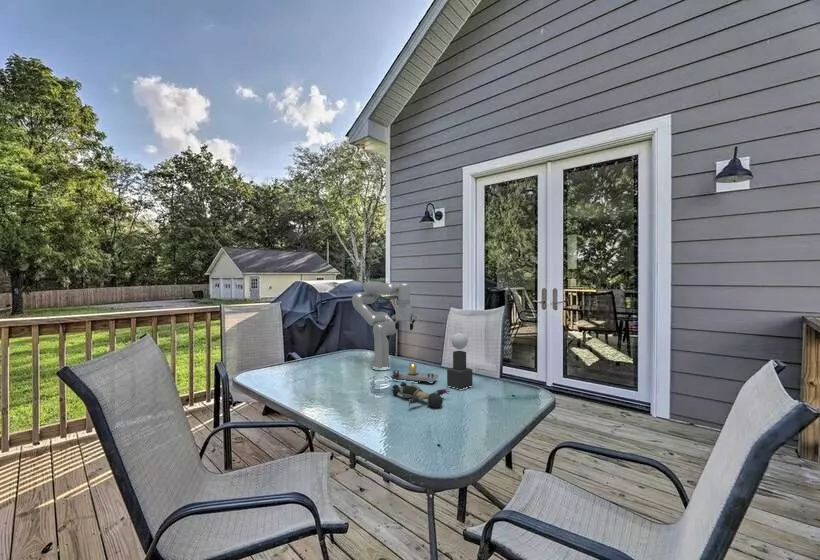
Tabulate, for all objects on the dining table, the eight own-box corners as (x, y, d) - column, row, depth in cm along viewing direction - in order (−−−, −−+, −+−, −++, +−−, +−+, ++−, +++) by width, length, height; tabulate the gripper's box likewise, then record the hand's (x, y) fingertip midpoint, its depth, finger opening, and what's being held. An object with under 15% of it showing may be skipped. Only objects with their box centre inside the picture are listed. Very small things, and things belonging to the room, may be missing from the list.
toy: (378, 400, 184) (419, 417, 161) (378, 386, 184) (419, 401, 161) (417, 389, 201) (459, 403, 179) (417, 376, 201) (459, 388, 179)
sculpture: (459, 383, 212) (458, 331, 212) (472, 387, 204) (472, 333, 205) (446, 386, 206) (446, 332, 206) (460, 390, 198) (459, 334, 198)
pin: (408, 381, 217) (408, 364, 217) (411, 379, 221) (410, 363, 221) (414, 382, 216) (414, 364, 216) (417, 380, 220) (417, 363, 220)
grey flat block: (388, 380, 219) (388, 372, 219) (394, 376, 228) (394, 368, 228) (432, 385, 209) (432, 376, 209) (438, 381, 218) (438, 372, 218)
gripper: (389, 302, 235) (389, 329, 235) (414, 303, 228) (414, 331, 228) (394, 302, 242) (394, 328, 242) (418, 302, 235) (419, 329, 235)
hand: (404, 329), depth 235 cm, fingers open, 9 cm apart
